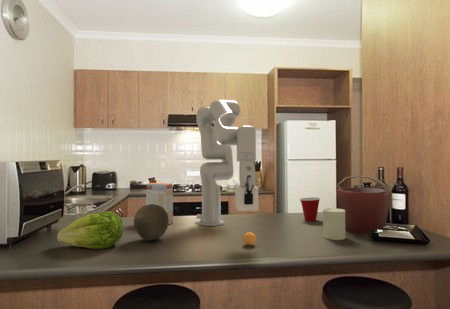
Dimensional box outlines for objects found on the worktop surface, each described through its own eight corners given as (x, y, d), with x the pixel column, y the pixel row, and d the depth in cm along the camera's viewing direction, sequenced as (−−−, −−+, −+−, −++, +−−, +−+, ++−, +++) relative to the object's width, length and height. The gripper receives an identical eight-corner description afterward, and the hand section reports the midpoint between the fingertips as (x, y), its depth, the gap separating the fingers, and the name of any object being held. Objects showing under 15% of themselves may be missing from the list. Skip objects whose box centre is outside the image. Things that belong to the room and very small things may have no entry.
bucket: (326, 225, 150) (326, 175, 150) (361, 222, 158) (361, 173, 158) (366, 238, 127) (365, 178, 127) (404, 233, 135) (403, 176, 135)
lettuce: (69, 224, 129) (50, 213, 116) (127, 215, 130) (114, 203, 117) (65, 259, 122) (45, 251, 109) (127, 249, 123) (113, 240, 110)
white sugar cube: (238, 211, 115) (238, 187, 115) (235, 207, 123) (235, 185, 123) (258, 210, 116) (258, 187, 116) (254, 207, 124) (254, 185, 124)
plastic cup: (304, 217, 171) (303, 195, 171) (323, 219, 165) (323, 197, 165) (296, 220, 162) (296, 198, 162) (316, 223, 156) (316, 199, 156)
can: (329, 233, 137) (328, 206, 137) (349, 236, 130) (349, 208, 130) (318, 237, 130) (318, 208, 130) (339, 241, 124) (339, 211, 124)
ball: (260, 242, 119) (250, 250, 119) (254, 233, 123) (244, 241, 123) (254, 235, 116) (244, 243, 116) (249, 227, 120) (239, 235, 120)
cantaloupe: (132, 238, 130) (131, 203, 130) (165, 234, 136) (164, 201, 136) (136, 247, 117) (135, 208, 117) (172, 243, 123) (172, 205, 123)
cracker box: (173, 223, 158) (173, 183, 158) (165, 225, 153) (165, 184, 153) (154, 220, 166) (153, 182, 166) (145, 222, 161) (145, 183, 161)
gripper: (260, 157, 111) (261, 205, 111) (251, 157, 128) (251, 199, 128) (240, 157, 110) (240, 206, 110) (233, 157, 128) (234, 199, 128)
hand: (246, 202), depth 119 cm, fingers closed on white sugar cube, 7 cm apart
